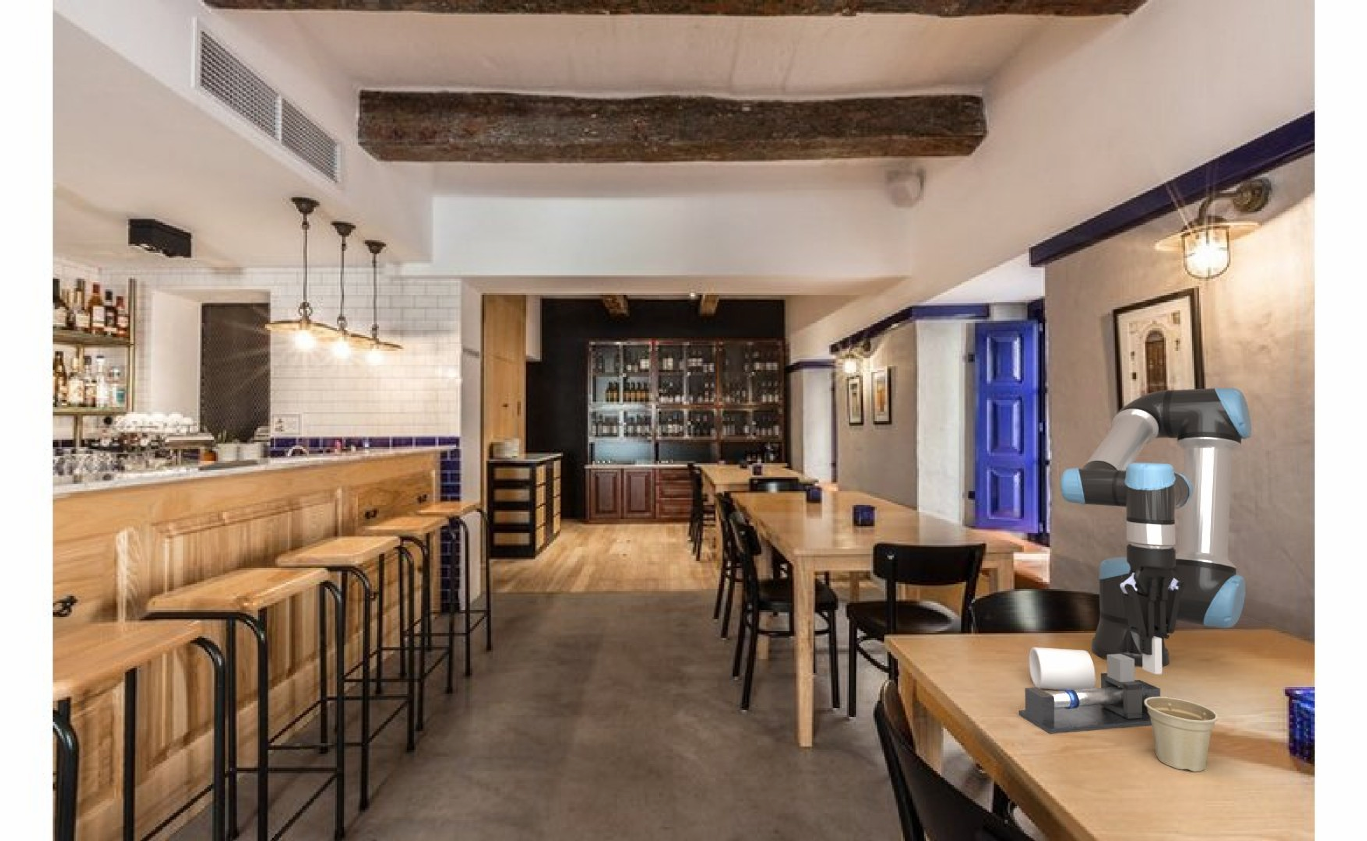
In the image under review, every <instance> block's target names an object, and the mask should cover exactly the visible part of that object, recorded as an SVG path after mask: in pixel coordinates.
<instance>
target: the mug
mask: <svg viewBox="0 0 1367 841" xmlns="http://www.w3.org/2000/svg"><path fill="white" fill-rule="evenodd" d="M1028 666H1029V673H1030V677H1031V681H1032V683H1033V686H1034V687H1037V688H1039V689H1041V690H1043V689H1046V690H1055V691H1056V690H1057V691H1060V690H1062V689H1072V690H1082V689H1095V685H1096V684H1095V683H1096V670H1095V665H1094V663H1093V659H1092V657H1091V655H1090V653H1089V651H1087V650H1085V649H1084V650H1083V649H1069V648H1067V649H1066V648H1051V647H1050V648H1049V647H1036V646H1034V647H1031V649H1030V651H1029V655H1028Z"/></svg>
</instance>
